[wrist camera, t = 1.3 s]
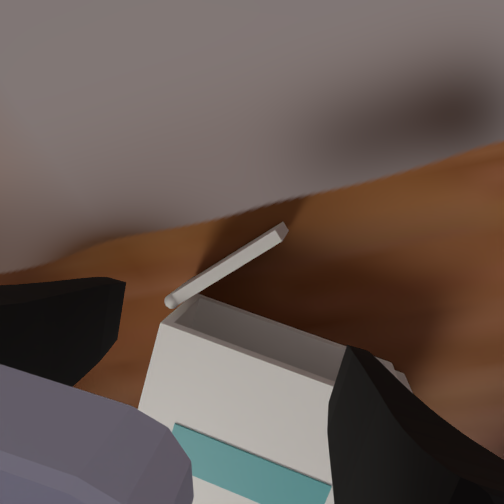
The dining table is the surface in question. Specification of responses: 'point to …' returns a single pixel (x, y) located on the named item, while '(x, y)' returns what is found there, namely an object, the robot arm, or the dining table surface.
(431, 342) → the dining table surface
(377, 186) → the dining table surface
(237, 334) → the carton
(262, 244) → the flap
